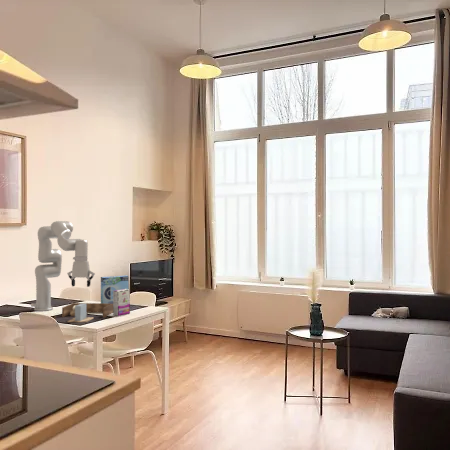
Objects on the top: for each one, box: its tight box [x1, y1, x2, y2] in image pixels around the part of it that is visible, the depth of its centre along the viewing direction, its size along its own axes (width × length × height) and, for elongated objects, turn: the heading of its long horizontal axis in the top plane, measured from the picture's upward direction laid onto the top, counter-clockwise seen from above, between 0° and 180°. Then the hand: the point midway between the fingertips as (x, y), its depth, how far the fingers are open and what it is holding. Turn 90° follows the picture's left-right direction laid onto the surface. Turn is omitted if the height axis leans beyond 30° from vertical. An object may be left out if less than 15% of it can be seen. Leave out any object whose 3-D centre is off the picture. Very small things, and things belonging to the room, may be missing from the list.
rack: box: [61, 302, 113, 318], centre depth 308 cm, size 28×18×6 cm, turn 86°
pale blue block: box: [74, 304, 87, 321], centre depth 290 cm, size 4×10×9 cm, turn 176°
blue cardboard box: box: [100, 274, 129, 304], centre depth 333 cm, size 20×5×23 cm, turn 123°
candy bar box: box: [112, 288, 131, 317], centre depth 308 cm, size 11×5×16 cm, turn 148°
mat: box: [67, 316, 94, 323], centre depth 290 cm, size 12×13×1 cm
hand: (80, 286), depth 292 cm, fingers open, 9 cm apart
